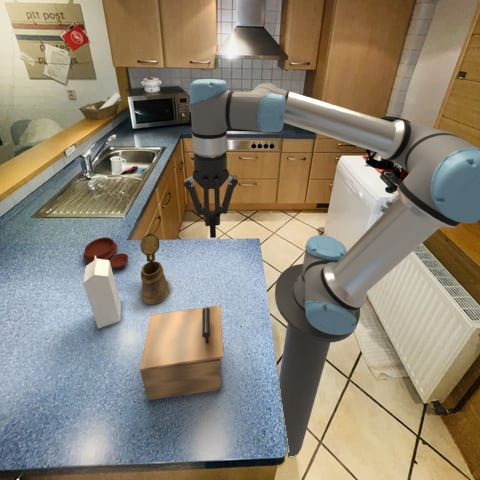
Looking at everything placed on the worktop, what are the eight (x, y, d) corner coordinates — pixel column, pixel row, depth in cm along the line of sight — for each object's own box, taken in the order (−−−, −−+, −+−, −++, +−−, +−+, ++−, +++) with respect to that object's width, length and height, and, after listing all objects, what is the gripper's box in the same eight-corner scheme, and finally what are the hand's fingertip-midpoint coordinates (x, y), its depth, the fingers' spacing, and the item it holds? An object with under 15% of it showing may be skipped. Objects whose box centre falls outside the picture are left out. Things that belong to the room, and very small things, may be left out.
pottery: (105, 240, 105) (103, 232, 104) (139, 258, 97) (137, 250, 95) (77, 259, 96) (75, 250, 94) (112, 281, 87) (109, 272, 86)
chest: (218, 337, 71) (217, 309, 66) (220, 389, 60) (220, 360, 55) (156, 344, 69) (151, 316, 64) (147, 400, 58) (140, 371, 53)
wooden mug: (168, 268, 93) (163, 229, 85) (170, 300, 81) (164, 259, 74) (142, 273, 90) (135, 234, 83) (141, 308, 79) (132, 265, 71)
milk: (120, 304, 80) (107, 251, 71) (120, 321, 75) (106, 267, 66) (99, 310, 78) (83, 257, 69) (97, 329, 72) (79, 274, 64)
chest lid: (220, 307, 66) (219, 294, 64) (223, 358, 55) (222, 345, 53) (151, 316, 64) (148, 303, 62) (140, 371, 53) (135, 358, 51)
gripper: (237, 144, 60) (235, 223, 70) (182, 146, 59) (188, 226, 68) (241, 157, 54) (239, 242, 63) (179, 159, 52) (186, 246, 62)
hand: (212, 234), depth 66 cm, fingers closed
